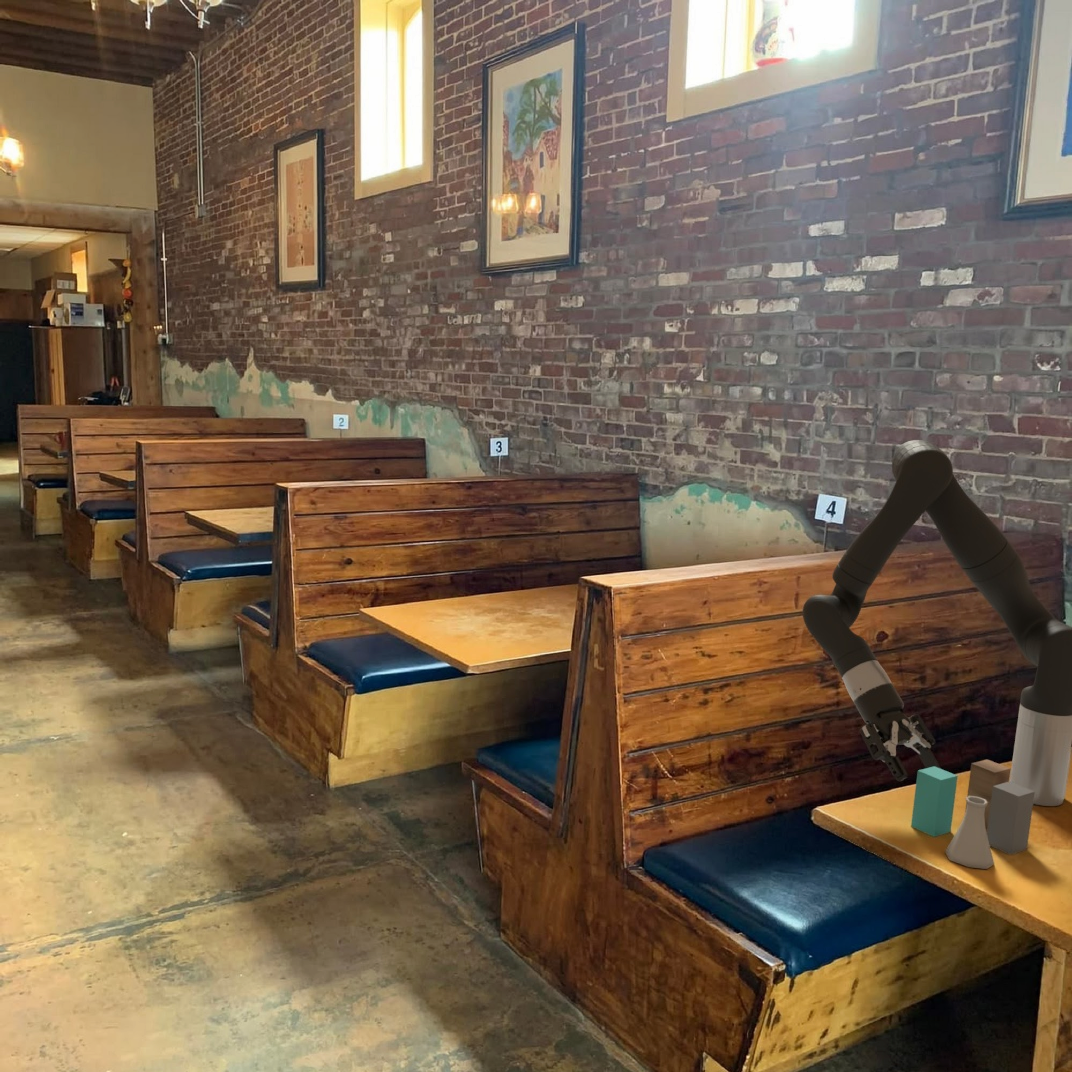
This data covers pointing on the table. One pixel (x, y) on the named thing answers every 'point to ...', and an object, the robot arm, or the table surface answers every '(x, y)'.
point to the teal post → (934, 801)
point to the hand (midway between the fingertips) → (919, 775)
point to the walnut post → (986, 781)
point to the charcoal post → (1010, 817)
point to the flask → (972, 837)
